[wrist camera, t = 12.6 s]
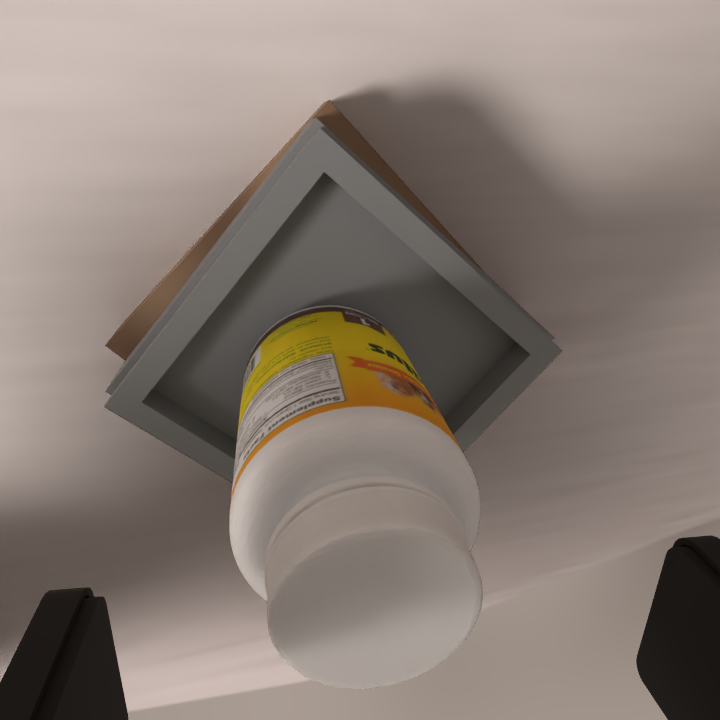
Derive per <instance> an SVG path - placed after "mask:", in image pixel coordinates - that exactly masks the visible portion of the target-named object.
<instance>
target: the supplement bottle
mask: <svg viewBox="0 0 720 720" xmlns="http://www.w3.org/2000/svg"><path fill="white" fill-rule="evenodd" d="M229 521H230V523H229V534H230V542H231V547H232V551H233V554H234V557H235V560H236V562H237V565H238V568H239V569H240V571H241V573H242V574H243V576H244V578H245V579H246V580H247V582H248V583H249V584H250V586H251V587H252V588H253V589H254V590H255V591H256V592H257V593H258V594H259V595H260V596H261V597H262V598H263V599H264V600H265V601H267V618H268V629H269V634H270V637H271V640H272V642H273V644H274V646H275V648H276V650H277V651H278V653H279V655H280V656H281V657H282V658H283V659H284V661H285V662H286V663H287V664H288V665H289V666H291V667H292V668H293V669H294V670H295V671H297V672H298V673H300V674H301V675H303V676H305V677H306V678H309V679H311V680H314V681H316V682H319V683H321V684H325V685H329V686H334V687H340V688H347V689H369V688H378V687H383V686H388V685H393V684H397V683H400V682H403V681H406V680H409V679H411V678H414V677H416V676H418V675H421V674H423V673H425V672H427V671H428V670H430V669H432V668H433V667H435V666H437V665H438V664H440V663H441V662H442V661H444V660H445V659H446V658H448V657H449V656H450V655H451V654H452V653H453V652H455V651H456V650H457V649H458V647H460V645H461V644H462V643H463V642H464V641H465V640H466V638H467V636H468V635H469V634H470V632H471V631H472V629H473V627H474V625H475V623H476V621H477V618H478V616H479V613H480V610H481V604H482V598H483V594H482V583H481V578H480V575H479V571H478V568H477V566H476V564H475V561H474V559H473V556H472V554H471V552H470V551H471V549H472V547H473V544H474V542H475V539H476V536H477V532H478V528H479V522H480V496H479V490H478V486H477V482H476V479H475V476H474V473H473V471H472V469H471V467H470V465H469V462H468V460H467V458H466V456H465V454H464V452H463V450H462V448H461V447H460V445H459V444H458V442H457V441H456V439H455V437H454V436H453V434H452V432H451V430H450V429H449V427H448V425H447V424H446V422H445V420H444V418H443V416H442V415H441V413H440V410H439V409H438V408H437V406H436V404H435V403H434V401H433V399H432V398H431V396H430V394H429V393H428V391H427V389H426V387H425V386H424V384H423V382H422V381H421V379H420V377H419V375H418V374H417V372H416V370H415V369H414V367H413V365H412V364H411V362H410V360H409V358H408V357H407V355H406V353H405V352H404V350H403V348H402V346H401V345H400V343H399V342H398V341H397V339H396V338H395V336H394V335H393V334H392V333H391V332H390V331H389V330H388V328H386V327H385V326H384V325H383V324H382V323H381V322H379V321H378V320H376V319H375V318H373V317H371V316H370V315H368V314H366V313H363V312H361V311H359V310H356V309H352V308H349V307H344V306H336V305H325V306H315V307H310V308H306V309H302V310H299V311H297V312H294V313H292V314H290V315H288V316H286V317H284V318H282V319H281V320H279V321H278V322H276V323H275V324H274V325H273V326H272V327H270V328H269V329H268V330H267V331H266V332H265V333H264V334H263V335H262V337H261V338H260V339H259V340H258V342H257V343H256V345H255V347H254V348H253V350H252V352H251V354H250V357H249V359H248V362H247V365H246V368H245V373H244V380H243V388H242V396H241V405H240V416H239V424H238V435H237V444H236V456H235V465H234V475H233V485H232V495H231V504H230V514H229Z"/></svg>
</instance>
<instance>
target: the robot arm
mask: <svg viewBox="0 0 720 720" xmlns="http://www.w3.org/2000/svg"><path fill="white" fill-rule="evenodd" d="M636 662H637V668H638V672H639V675H640V678H641V679H642V681H643V683H644V684H645V686H646V687H647V689H648V690H649V692H650V693H651V695H652V696H653V698H654V699H655V701H656V702H657V704H658V705H659V707H660V708H661V710H662V711H663V713H664V714H665V716H666V717H667V719H668V720H720V539H719V538H717V537H714V536H700V537H688V538H680V539H678V540H677V541H675V543H674V545H673V547H672V548H671V549H669V550H668V552H667V554H666V557H665V560H664V564H663V567H662V571H661V574H660V578H659V581H658V585H657V589H656V592H655V595H654V599H653V602H652V606H651V609H650V613H649V616H648V620H647V623H646V627H645V630H644V634H643V637H642V641H641V644H640V648H639V651H638V655H637V661H636ZM0 720H128V713H127V708H126V703H125V697H124V692H123V687H122V682H121V677H120V672H119V667H118V661H117V656H116V651H115V646H114V641H113V636H112V631H111V625H110V620H109V615H108V610H107V605H106V601H105V598H104V597H94V595H93V592H92V590H91V589H90V588H75V589H63V590H51V591H48V592H47V593H46V594H45V595H44V597H43V598H42V600H41V602H40V604H39V606H38V608H37V610H36V612H35V614H34V616H33V618H32V620H31V622H30V624H29V626H28V628H27V630H26V632H25V634H24V636H23V638H22V640H21V642H20V644H19V646H18V648H17V650H16V652H15V654H14V656H13V658H12V660H11V662H10V664H9V666H8V668H7V670H6V672H5V674H4V676H3V678H2V680H1V682H0Z"/></svg>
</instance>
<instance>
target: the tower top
mask: <svg viewBox="0 0 720 720" xmlns="http://www.w3.org/2000/svg"><path fill="white" fill-rule="evenodd" d="M325 305H336V306H344V307H349V308H352V309H356V310H359V311H361V312H363V313H366V314H368V315H370V316H371V317H373V318H375V319H376V320H378V321H379V322H381V323H382V324H383V325H384V326H385V327H386V328H388V330H389V331H390V332H391V333H392V334H393V335H394V336H395V338H396V339H397V341H398V342H399V343H400V345H401V346H402V348H403V350H404V352H405V353H406V355H407V357H408V358H409V360H410V362H411V364H412V365H413V367H414V369H415V370H416V372H417V374H418V375H419V377H420V379H421V381H422V382H423V384H424V386H425V387H426V389H427V391H428V393H429V394H430V396H431V398H432V399H433V401H434V403H435V404H436V406H437V408H438V409H439V410H440V413H441V415H442V416H443V418H444V420H445V422H446V424H447V425H448V427H449V429H450V430H451V432H452V434H453V436H454V437H455V439H456V441H457V442H458V444H459V445H460V447H461V448H462V450H463V452H464V451H465V450H466V449H467V448H468V447H469V446H470V445H471V444H472V443H473V442H474V441H475V440H476V439H477V438H478V437H479V435H480V434H481V433H482V432H483V431H484V430H485V429H486V428H487V427H488V426H489V425H490V424H491V423H492V422H493V421H494V420H495V419H496V418H497V417H498V416H499V415H500V414H501V413H502V412H503V411H504V410H505V409H506V408H507V407H508V406H509V405H510V404H511V403H512V402H513V401H514V400H515V399H516V398H517V397H518V396H519V395H520V394H521V393H522V392H523V391H524V390H525V389H526V388H527V387H528V385H529V384H530V383H531V382H532V381H533V380H534V379H535V378H536V377H537V376H538V375H539V374H540V373H541V372H542V371H543V370H544V369H545V368H546V367H547V366H548V365H549V364H550V363H551V362H552V361H553V360H554V359H555V358H556V357H557V356H558V355H559V354H560V353H561V352H562V351H563V350H561V349H560V348H559V347H558V346H557V345H556V344H555V343H554V342H553V341H552V340H553V339H554V337H553V336H552V335H551V334H550V333H549V332H548V331H547V330H546V329H545V328H544V327H542V326H541V325H540V324H539V323H538V322H537V321H536V320H535V319H534V318H533V317H532V316H531V315H529V314H528V313H527V312H526V311H525V310H524V309H523V308H522V307H521V306H520V305H519V304H518V303H516V302H515V301H514V300H513V299H512V298H511V297H510V296H509V295H508V294H507V293H506V292H505V291H503V290H502V289H501V288H500V287H499V286H498V285H497V284H496V283H495V282H494V281H493V280H492V279H490V278H489V277H488V276H487V275H486V274H485V273H484V272H483V271H482V270H481V269H480V268H479V267H477V266H476V265H475V264H474V263H473V262H472V261H471V260H470V259H469V258H468V257H467V256H465V255H464V254H463V253H462V252H461V251H460V250H459V249H458V248H457V247H456V246H455V245H454V244H452V243H451V242H450V241H449V240H448V239H447V238H446V237H445V236H444V235H443V234H442V233H441V232H439V231H438V230H437V229H436V228H435V227H434V226H433V225H432V224H431V223H430V222H429V221H428V220H426V219H425V218H424V217H423V216H422V215H421V214H420V213H419V212H418V211H417V210H416V209H415V208H413V207H412V206H411V205H410V204H409V203H408V202H407V201H406V200H405V199H404V198H403V197H402V196H400V195H399V194H398V193H397V192H396V191H395V190H394V189H393V188H392V187H391V186H390V185H389V184H387V183H386V182H385V181H384V180H383V179H382V178H381V177H380V176H379V175H378V174H377V173H376V172H374V171H373V170H372V169H371V168H370V167H369V166H368V165H367V164H366V163H365V162H364V161H363V160H361V159H360V158H359V157H358V156H357V155H356V154H355V153H354V152H353V151H352V150H351V149H350V148H348V147H347V146H346V145H345V144H344V143H343V142H342V141H341V140H340V139H339V138H338V137H337V136H335V135H334V134H333V133H332V132H331V131H330V130H329V129H328V128H327V127H326V126H325V125H324V124H322V123H321V122H320V121H319V120H318V119H317V118H314V119H310V121H309V122H308V123H307V124H306V126H305V127H304V128H303V130H302V131H301V132H300V134H299V135H298V136H297V138H296V139H295V140H294V141H293V143H292V144H291V145H290V147H289V148H288V149H287V151H286V152H285V153H284V154H283V156H282V157H281V158H280V160H279V161H278V162H277V164H276V165H275V166H274V167H273V169H272V170H271V171H270V173H269V174H268V175H267V177H266V178H265V179H264V180H263V182H262V183H261V184H260V186H259V187H258V188H257V190H256V191H255V192H254V194H253V195H252V196H251V197H250V199H249V200H248V201H247V203H246V204H245V205H244V207H243V208H242V209H241V210H240V212H239V213H238V214H237V216H236V217H235V218H234V220H233V221H232V222H231V223H230V225H229V226H228V227H227V229H226V230H225V231H224V233H223V234H222V235H221V236H220V238H219V239H218V240H217V242H216V243H215V244H214V246H213V247H212V248H211V249H210V251H209V252H208V253H207V255H206V256H205V257H204V259H203V260H202V261H201V262H200V264H199V265H198V266H197V268H196V269H195V270H194V272H193V273H192V274H191V275H190V277H189V278H188V279H187V281H186V282H185V283H184V285H183V286H182V287H181V289H180V290H179V291H178V292H177V294H176V295H175V296H174V298H173V299H172V300H171V302H170V303H169V304H168V305H167V307H166V308H165V309H164V311H163V312H162V313H161V315H160V316H159V317H158V318H157V320H156V321H155V322H154V324H153V325H152V326H151V328H150V329H149V330H148V331H147V333H146V334H145V335H144V337H143V338H142V339H141V341H140V342H139V343H138V344H137V346H136V347H135V348H134V350H133V351H132V352H131V354H130V355H129V356H128V358H127V359H126V361H125V362H124V364H123V365H122V367H121V368H120V370H119V371H118V373H117V374H116V376H115V378H114V379H113V381H112V382H111V384H110V385H109V387H108V388H107V390H106V391H105V392H107V393H109V394H110V395H111V397H110V398H109V400H108V401H107V403H106V405H105V406H104V407H105V408H107V409H108V410H110V411H112V412H113V413H115V414H117V415H119V416H120V417H122V418H124V419H125V420H127V421H129V422H130V423H132V424H134V425H135V426H137V427H139V428H140V429H142V430H144V431H146V432H147V433H149V434H151V435H152V436H154V437H156V438H157V439H159V440H161V441H162V442H164V443H166V444H167V445H169V446H171V447H173V448H174V449H176V450H178V451H179V452H181V453H183V454H184V455H186V456H188V457H189V458H191V459H193V460H195V461H196V462H198V463H200V464H201V465H203V466H205V467H206V468H208V469H210V470H211V471H213V472H215V473H216V474H218V475H220V476H222V477H223V478H225V479H227V480H228V481H230V482H232V483H233V475H234V465H235V456H236V444H237V435H238V424H239V416H240V405H241V396H242V388H243V380H244V373H245V368H246V365H247V362H248V359H249V357H250V354H251V352H252V350H253V348H254V347H255V345H256V343H257V342H258V340H259V339H260V338H261V337H262V335H263V334H264V333H265V332H266V331H267V330H268V329H269V328H270V327H272V326H273V325H274V324H275V323H276V322H278V321H279V320H281V319H282V318H284V317H286V316H288V315H290V314H292V313H294V312H297V311H299V310H302V309H306V308H310V307H315V306H325Z"/></svg>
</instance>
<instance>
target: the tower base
mask: <svg viewBox="0 0 720 720" xmlns="http://www.w3.org/2000/svg"><path fill="white" fill-rule="evenodd" d="M314 118H317V119H318V120H319V121H320V122H321V123H322V124H324V125H325V126H326V127H327V128H328V129H329V130H330V131H331V132H332V133H333V134H334V135H335V136H337V137H338V138H339V139H340V140H341V141H342V142H343V143H344V144H345V145H346V146H347V147H348V148H350V149H351V150H352V151H353V152H354V153H355V154H356V155H357V156H358V157H359V158H360V159H361V160H363V161H364V162H365V163H366V164H367V165H368V166H369V167H370V168H371V169H372V170H373V171H374V172H376V173H377V174H378V175H379V176H380V177H381V178H382V179H383V180H384V181H385V182H386V183H387V184H389V185H390V186H391V187H392V188H393V189H394V190H395V191H396V192H397V193H398V194H399V195H400V196H402V197H403V198H404V199H405V200H406V201H407V202H408V203H409V204H410V205H411V206H412V207H413V208H415V209H416V210H417V211H418V212H419V213H420V214H421V215H422V216H423V217H424V218H425V219H426V220H428V221H429V222H430V223H431V224H432V225H433V226H434V227H435V228H436V229H437V230H438V231H439V232H441V233H442V234H443V235H444V236H445V237H446V238H447V239H448V240H449V241H450V242H451V243H452V244H454V245H455V246H456V247H457V248H458V249H459V250H460V251H461V252H462V253H463V254H464V255H465V256H467V257H468V258H469V259H470V260H471V261H472V262H473V263H474V264H475V265H476V266H477V267H479V266H478V265H477V264H476V263H475V261H474V260H473V259H472V258H471V257H470V256H469V255H468V254H467V253H466V251H465V250H464V249H463V248H462V247H461V246H460V245H459V244H458V242H457V241H456V240H455V239H454V238H453V237H452V236H451V235H450V234H449V232H448V231H447V230H446V229H445V228H444V227H443V226H442V225H441V224H440V222H439V221H438V220H437V219H436V218H435V217H434V216H433V215H432V214H431V212H430V211H429V210H428V209H427V208H426V207H425V206H424V205H423V204H422V202H421V201H420V200H419V199H418V198H417V197H416V196H415V195H414V194H413V192H412V191H411V190H410V189H409V188H408V187H407V186H406V185H405V184H404V182H403V181H402V180H401V179H400V178H399V177H398V176H397V175H396V174H395V172H394V171H393V170H392V169H391V168H390V167H389V166H388V165H387V164H386V162H385V161H384V160H383V159H382V158H381V157H380V156H379V155H378V153H377V152H376V151H375V150H374V149H373V148H372V147H371V146H370V145H369V143H368V142H367V141H366V140H365V139H364V138H363V137H362V136H361V135H360V133H359V132H358V131H357V130H356V129H355V128H354V127H353V126H352V125H351V123H350V122H349V121H348V120H347V119H346V118H345V117H344V116H343V115H342V113H341V112H340V111H339V110H338V109H337V108H336V107H335V106H334V105H333V103H332V102H331V101H330V100H328V101H326V102H325V103H323V104H322V105H321V106H320V108H319V109H318V110H317V111H316V112H315V113H314V114H313V115H312V116H311V117H310V119H314ZM310 119H309V120H308V121H307V122H306V123H305V124H304V125H303V126H302V127H301V128H300V129H299V131H298V132H297V133H296V134H295V135H294V136H293V137H292V138H291V139H290V140H289V142H288V143H287V144H286V145H285V146H284V147H283V148H282V149H281V150H280V151H279V153H278V154H277V155H276V156H275V157H274V158H273V159H272V160H271V161H270V162H269V164H268V165H267V166H266V167H265V168H264V169H263V170H262V171H261V172H260V173H259V174H258V176H257V177H256V178H255V179H254V180H253V181H252V182H251V183H250V184H249V185H248V187H247V188H246V189H245V190H244V191H243V192H242V193H241V194H240V195H239V196H238V198H237V199H236V200H235V201H234V202H233V203H232V204H231V205H230V206H229V207H228V209H227V210H226V211H225V212H224V213H223V214H222V215H221V216H220V217H219V218H218V219H217V221H216V222H215V223H214V224H213V225H212V226H211V227H210V228H209V229H208V230H207V232H206V233H205V234H204V235H203V236H202V237H201V238H200V239H199V240H198V241H197V243H196V244H195V245H194V246H193V247H192V248H191V249H190V250H189V251H188V252H187V254H186V255H185V256H184V257H183V258H182V259H181V260H180V261H179V262H178V263H177V264H176V266H175V267H174V268H173V269H172V270H171V271H170V272H169V273H168V274H167V275H166V277H165V278H164V279H163V280H162V281H161V282H160V283H159V284H158V285H157V286H156V288H155V289H154V290H153V291H152V292H151V293H150V294H149V295H148V296H147V297H146V299H145V300H144V301H143V302H142V303H141V304H140V305H139V306H138V307H137V308H136V309H135V311H134V312H133V313H132V314H131V315H130V316H129V317H128V318H127V319H126V320H125V322H124V323H123V324H122V325H121V326H120V327H119V329H118V330H117V331H116V332H115V334H114V335H113V336H112V338H111V339H110V340H109V341H108V343H107V344H106V345H105V346H107V347H108V348H109V349H111V350H112V351H113V352H115V353H116V354H117V355H119V356H120V357H121V358H123V359H124V360H125V361H126V359H127V358H128V356H129V355H130V354H131V352H132V351H133V350H134V348H135V347H136V346H137V344H138V343H139V342H140V341H141V339H142V338H143V337H144V335H145V334H146V333H147V331H148V330H149V329H150V328H151V326H152V325H153V324H154V322H155V321H156V320H157V318H158V317H159V316H160V315H161V313H162V312H163V311H164V309H165V308H166V307H167V305H168V304H169V303H170V302H171V300H172V299H173V298H174V296H175V295H176V294H177V292H178V291H179V290H180V289H181V287H182V286H183V285H184V283H185V282H186V281H187V279H188V278H189V277H190V275H191V274H192V273H193V272H194V270H195V269H196V268H197V266H198V265H199V264H200V262H201V261H202V260H203V259H204V257H205V256H206V255H207V253H208V252H209V251H210V249H211V248H212V247H213V246H214V244H215V243H216V242H217V240H218V239H219V238H220V236H221V235H222V234H223V233H224V231H225V230H226V229H227V227H228V226H229V225H230V223H231V222H232V221H233V220H234V218H235V217H236V216H237V214H238V213H239V212H240V210H241V209H242V208H243V207H244V205H245V204H246V203H247V201H248V200H249V199H250V197H251V196H252V195H253V194H254V192H255V191H256V190H257V188H258V187H259V186H260V184H261V183H262V182H263V180H264V179H265V178H266V177H267V175H268V174H269V173H270V171H271V170H272V169H273V167H274V166H275V165H276V164H277V162H278V161H279V160H280V158H281V157H282V156H283V154H284V153H285V152H286V151H287V149H288V148H289V147H290V145H291V144H292V143H293V141H294V140H295V139H296V138H297V136H298V135H299V134H300V132H301V131H302V130H303V128H304V127H305V126H306V124H307V123H308V122H309V121H310ZM479 268H480V267H479ZM480 269H481V268H480ZM481 270H482V269H481ZM482 271H483V270H482ZM483 272H484V271H483Z"/></svg>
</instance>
